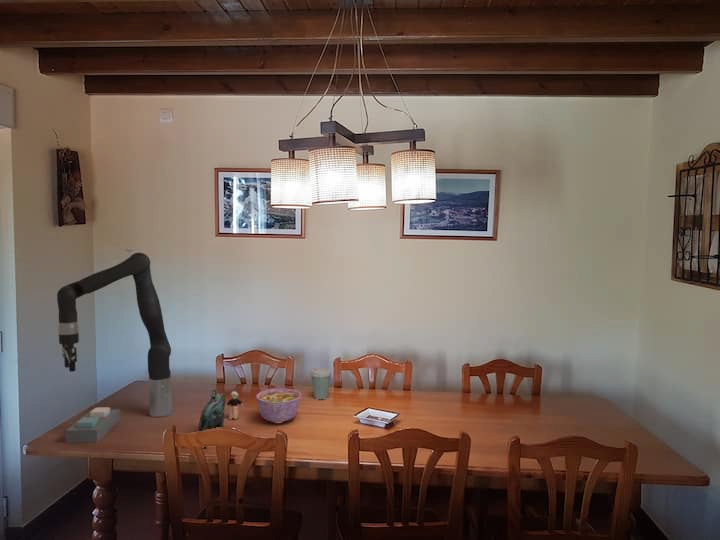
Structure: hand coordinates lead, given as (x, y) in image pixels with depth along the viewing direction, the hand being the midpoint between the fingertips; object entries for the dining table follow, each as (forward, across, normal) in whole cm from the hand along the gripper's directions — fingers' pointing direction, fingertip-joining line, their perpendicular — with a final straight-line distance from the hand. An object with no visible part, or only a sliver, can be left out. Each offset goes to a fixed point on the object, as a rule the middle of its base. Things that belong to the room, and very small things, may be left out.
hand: (70, 369), depth 225 cm
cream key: (+20, -11, -9) cm, 24 cm away
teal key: (+20, -20, -1) cm, 28 cm away
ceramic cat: (+25, -54, -40) cm, 72 cm away
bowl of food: (+25, -52, -72) cm, 93 cm away
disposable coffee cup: (+26, -40, -106) cm, 116 cm away
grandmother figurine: (+25, -39, -58) cm, 74 cm away
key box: (+24, -15, -5) cm, 29 cm away
